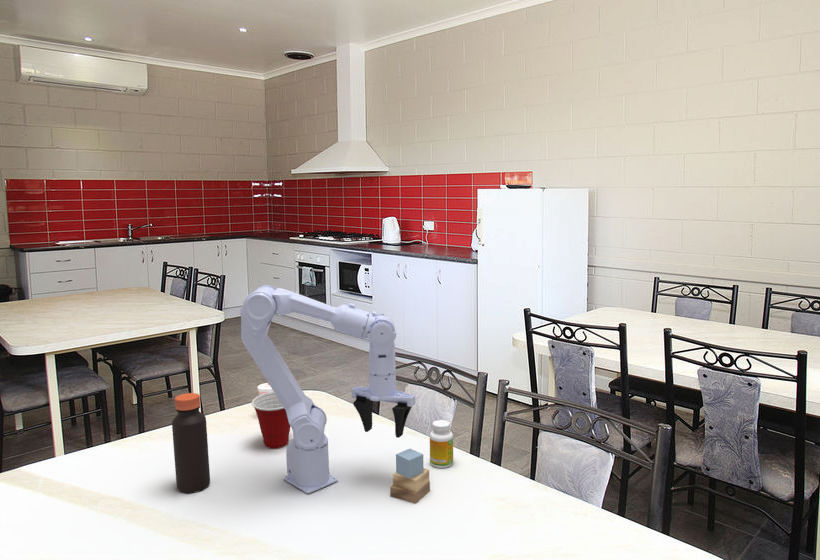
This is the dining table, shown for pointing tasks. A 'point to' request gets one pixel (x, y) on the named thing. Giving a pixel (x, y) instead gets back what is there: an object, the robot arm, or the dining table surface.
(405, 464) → the slate blue cube
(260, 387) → the beverage cup
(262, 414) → the plastic cup
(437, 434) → the supplement bottle
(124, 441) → the dining table surface
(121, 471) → the dining table surface
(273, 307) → the robot arm
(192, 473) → the vinegar
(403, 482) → the oak slab
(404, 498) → the walnut slab
